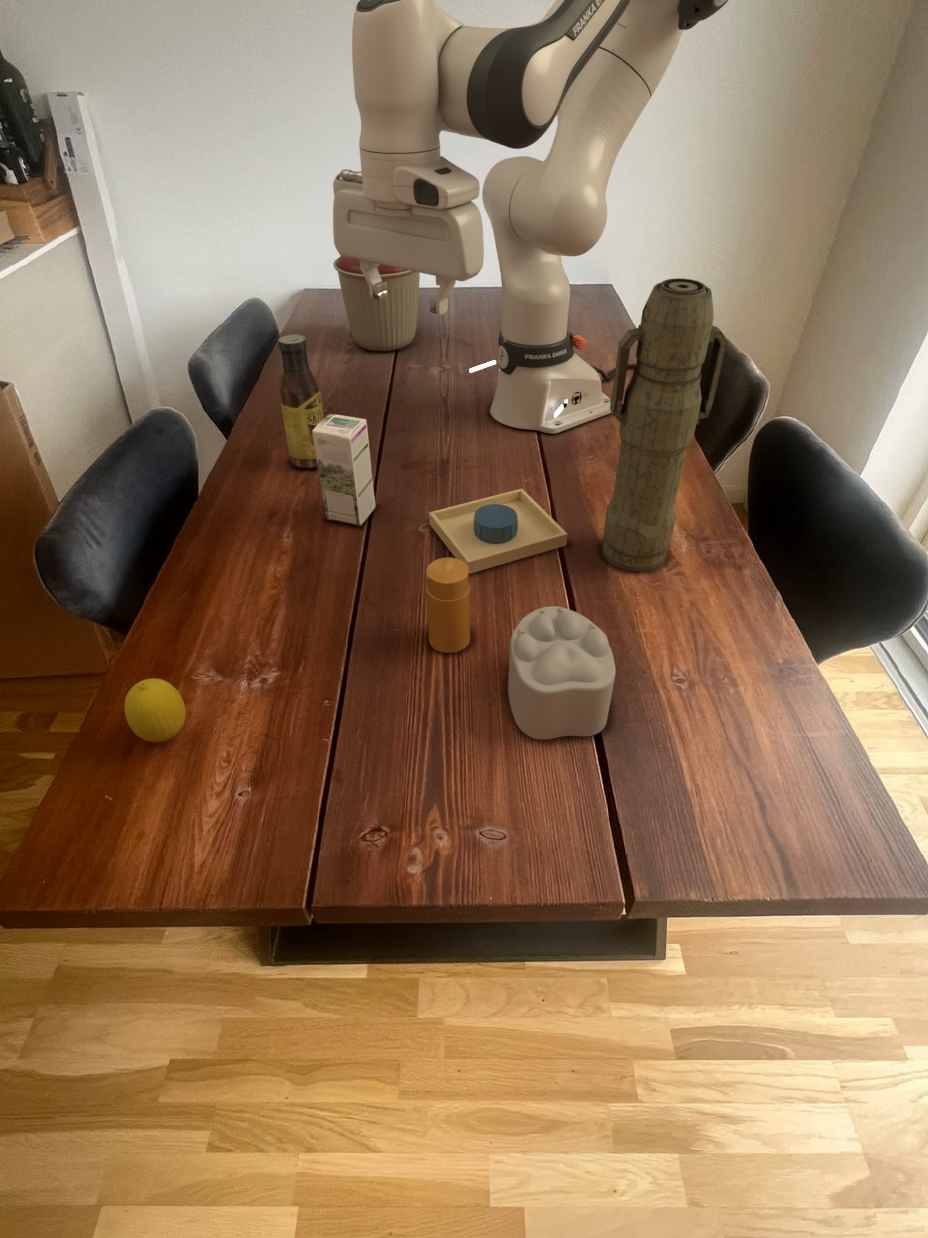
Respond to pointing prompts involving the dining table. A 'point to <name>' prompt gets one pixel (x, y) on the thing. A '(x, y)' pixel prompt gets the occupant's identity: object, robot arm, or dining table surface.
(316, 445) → the syrup box
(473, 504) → the tray
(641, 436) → the thermos
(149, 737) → the lemon
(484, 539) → the lid
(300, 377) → the sauce bottle
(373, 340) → the canister
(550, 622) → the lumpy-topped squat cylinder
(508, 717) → the dining table surface
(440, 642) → the jar
